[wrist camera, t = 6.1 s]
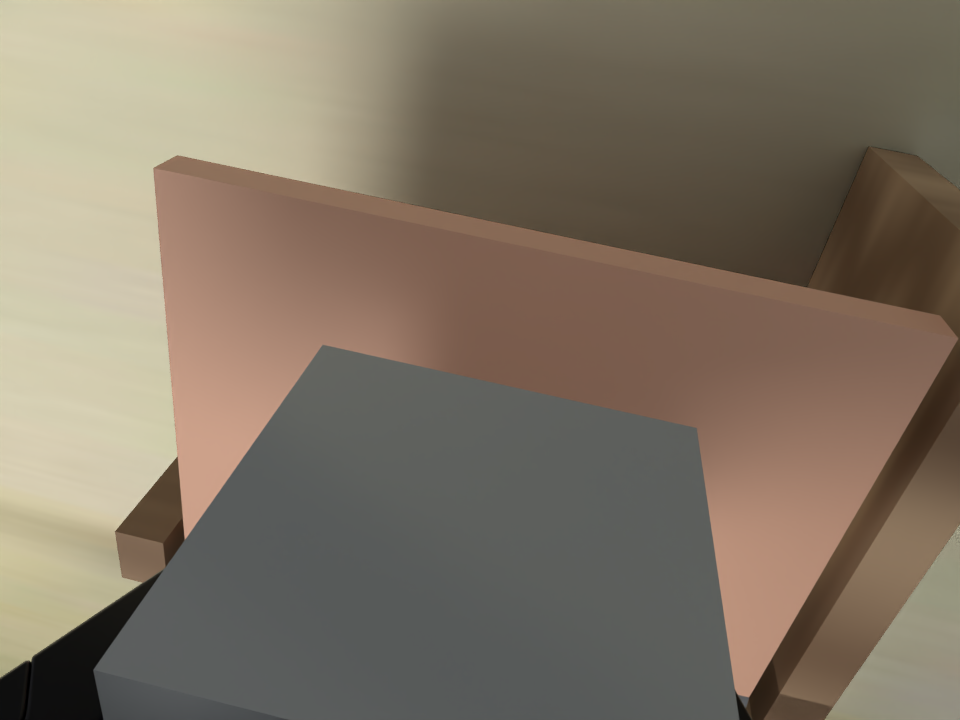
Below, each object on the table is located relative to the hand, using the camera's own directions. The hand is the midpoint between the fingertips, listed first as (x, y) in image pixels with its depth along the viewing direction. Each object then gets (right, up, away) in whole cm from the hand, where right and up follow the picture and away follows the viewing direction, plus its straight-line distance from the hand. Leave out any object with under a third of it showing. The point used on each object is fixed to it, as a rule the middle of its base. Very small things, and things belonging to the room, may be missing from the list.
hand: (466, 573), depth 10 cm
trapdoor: (+1, 0, +8) cm, 9 cm away
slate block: (0, 0, +1) cm, 1 cm away
